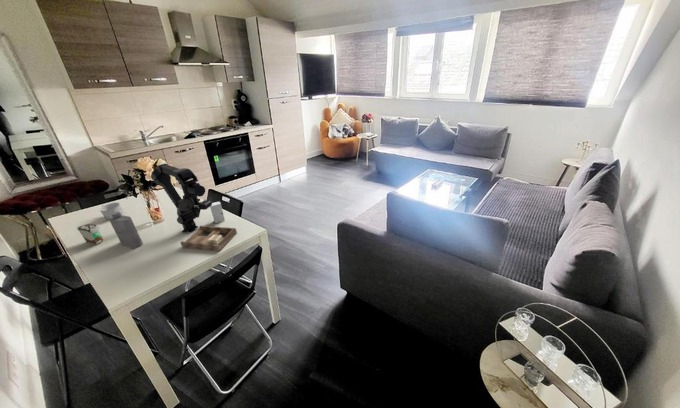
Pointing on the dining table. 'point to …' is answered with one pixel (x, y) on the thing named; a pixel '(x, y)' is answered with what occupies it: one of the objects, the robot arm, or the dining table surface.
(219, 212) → the skincare box
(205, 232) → the box
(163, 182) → the robot arm
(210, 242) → the birch block
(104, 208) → the teacup
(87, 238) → the food container
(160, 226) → the dining table surface
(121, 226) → the flask
